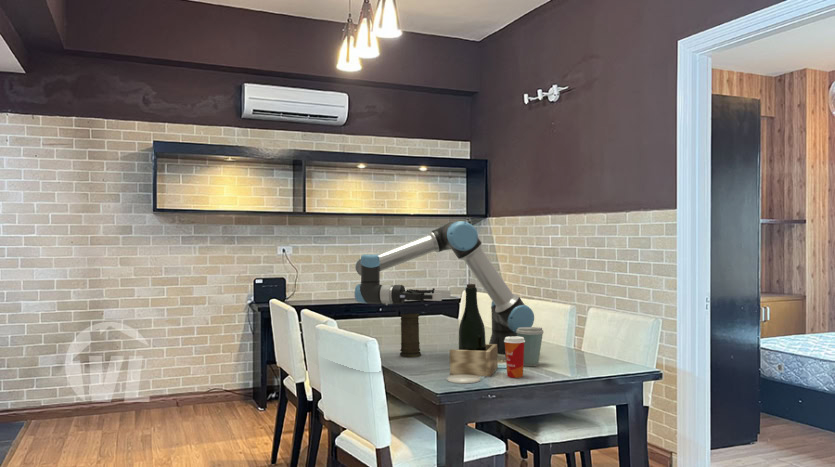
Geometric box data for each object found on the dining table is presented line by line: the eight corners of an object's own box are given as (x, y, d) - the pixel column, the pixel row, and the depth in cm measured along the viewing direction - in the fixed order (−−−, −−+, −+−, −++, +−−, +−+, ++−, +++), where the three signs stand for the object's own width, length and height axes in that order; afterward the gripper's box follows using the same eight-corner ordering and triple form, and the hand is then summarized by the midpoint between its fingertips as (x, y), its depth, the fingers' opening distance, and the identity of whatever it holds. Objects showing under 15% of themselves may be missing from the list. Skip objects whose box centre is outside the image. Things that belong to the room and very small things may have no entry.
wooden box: (450, 374, 237) (449, 350, 237) (459, 365, 252) (459, 343, 252) (490, 376, 233) (489, 351, 233) (497, 367, 248) (497, 344, 248)
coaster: (478, 375, 235) (478, 373, 235) (483, 383, 223) (483, 381, 223) (445, 376, 234) (445, 374, 234) (448, 384, 222) (448, 382, 222)
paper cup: (502, 374, 236) (501, 336, 236) (522, 373, 237) (522, 335, 237) (507, 379, 228) (506, 339, 228) (528, 378, 229) (527, 339, 229)
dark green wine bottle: (482, 367, 249) (480, 282, 249) (489, 373, 238) (488, 284, 238) (455, 368, 247) (454, 283, 247) (462, 374, 237) (460, 285, 237)
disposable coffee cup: (511, 363, 255) (510, 325, 255) (534, 361, 259) (534, 324, 259) (525, 368, 245) (524, 329, 245) (549, 366, 249) (548, 327, 249)
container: (418, 357, 270) (418, 315, 270) (398, 357, 272) (397, 315, 272) (422, 353, 279) (422, 312, 279) (402, 353, 281) (402, 312, 281)
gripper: (403, 300, 264) (453, 301, 257) (382, 307, 240) (437, 308, 234) (403, 282, 264) (453, 283, 257) (382, 287, 240) (437, 288, 234)
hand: (446, 295), depth 245 cm, fingers open, 13 cm apart
